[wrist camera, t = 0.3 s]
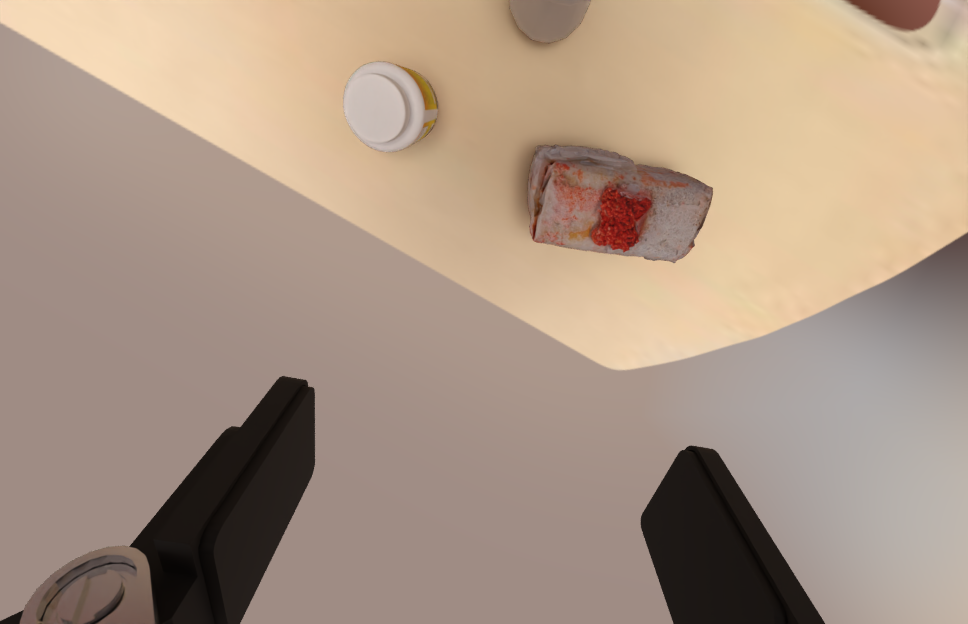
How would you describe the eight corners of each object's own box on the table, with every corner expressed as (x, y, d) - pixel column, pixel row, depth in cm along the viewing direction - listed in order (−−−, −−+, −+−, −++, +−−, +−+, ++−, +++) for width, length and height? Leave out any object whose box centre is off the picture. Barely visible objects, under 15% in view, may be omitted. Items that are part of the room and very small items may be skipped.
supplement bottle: (379, 59, 33) (335, 43, 24) (445, 81, 33) (427, 74, 24) (369, 131, 35) (325, 141, 26) (430, 150, 36) (408, 167, 27)
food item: (517, 225, 39) (523, 261, 30) (530, 136, 35) (542, 148, 26) (654, 241, 39) (700, 282, 31) (683, 155, 36) (744, 173, 27)
